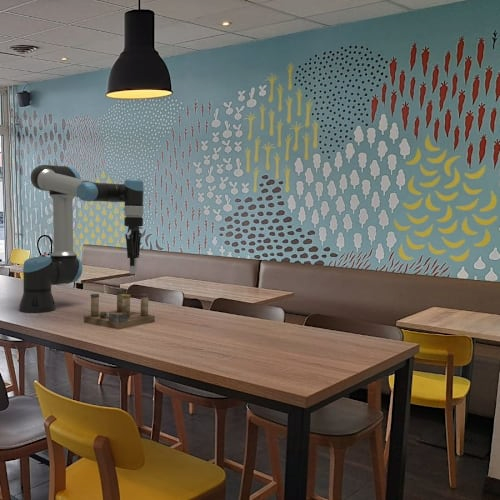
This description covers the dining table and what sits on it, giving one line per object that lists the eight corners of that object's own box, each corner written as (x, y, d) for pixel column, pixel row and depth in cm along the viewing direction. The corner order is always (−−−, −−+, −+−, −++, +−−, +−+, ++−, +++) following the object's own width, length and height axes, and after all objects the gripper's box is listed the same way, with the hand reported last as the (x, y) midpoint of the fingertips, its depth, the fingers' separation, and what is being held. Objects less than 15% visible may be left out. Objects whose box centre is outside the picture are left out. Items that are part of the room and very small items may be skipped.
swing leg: (100, 317, 230) (100, 295, 229) (100, 316, 233) (100, 294, 232) (130, 317, 233) (130, 295, 232) (129, 315, 236) (130, 294, 235)
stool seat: (83, 322, 234) (84, 294, 233) (120, 315, 250) (121, 289, 249) (118, 329, 223) (118, 300, 222) (154, 321, 239) (155, 294, 238)
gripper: (130, 216, 245) (130, 271, 247) (119, 216, 232) (118, 275, 234) (147, 216, 244) (147, 272, 245) (136, 217, 231) (136, 275, 233)
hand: (133, 273), depth 240 cm, fingers closed
